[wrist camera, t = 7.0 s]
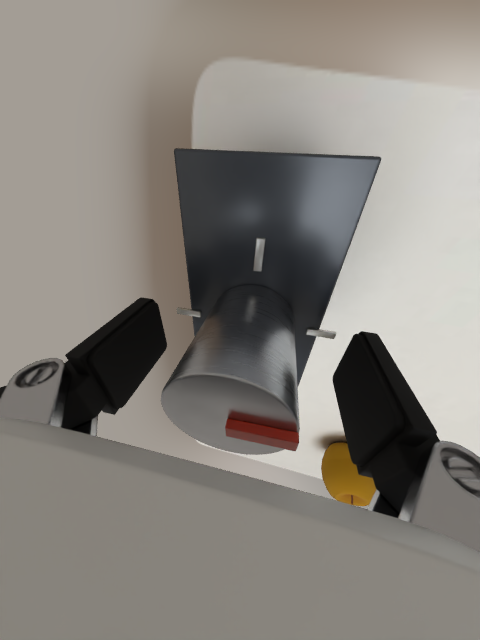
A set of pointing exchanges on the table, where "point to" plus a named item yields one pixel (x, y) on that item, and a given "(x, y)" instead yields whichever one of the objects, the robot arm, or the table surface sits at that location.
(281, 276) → the dial panel
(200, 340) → the program dial
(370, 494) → the apple
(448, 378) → the table surface
